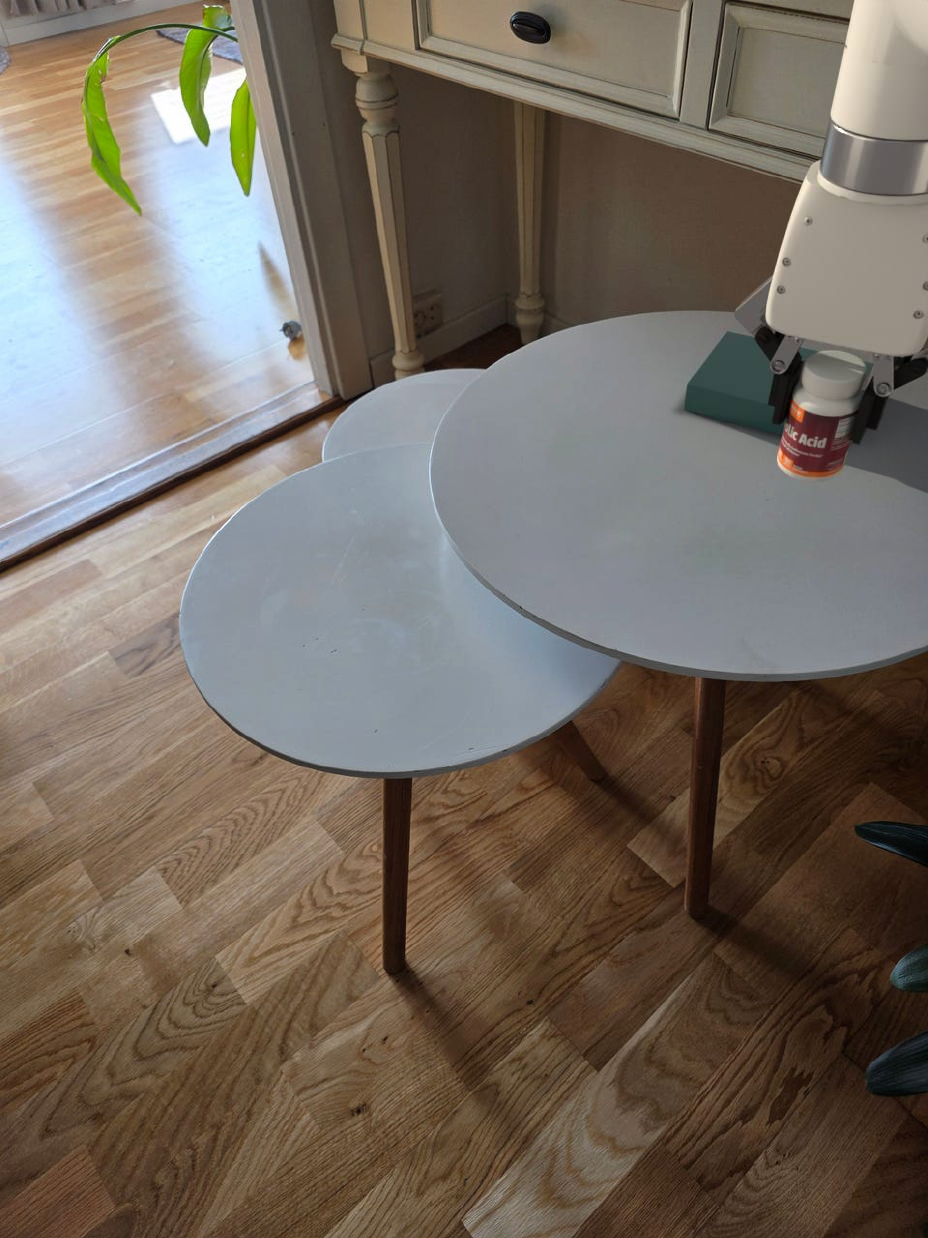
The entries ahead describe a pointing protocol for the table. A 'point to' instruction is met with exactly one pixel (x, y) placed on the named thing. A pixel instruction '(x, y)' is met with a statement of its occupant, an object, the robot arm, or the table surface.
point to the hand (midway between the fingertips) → (820, 421)
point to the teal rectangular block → (739, 384)
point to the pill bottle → (822, 416)
